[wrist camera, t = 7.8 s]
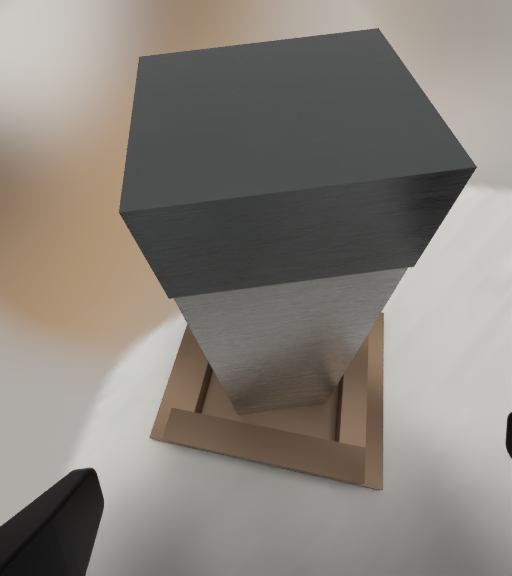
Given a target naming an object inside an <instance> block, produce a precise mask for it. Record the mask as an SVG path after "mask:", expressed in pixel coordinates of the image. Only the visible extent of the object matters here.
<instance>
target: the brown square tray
mask: <svg viewBox="0 0 512 576" xmlns="http://www.w3.org/2000/svg"><path fill="white" fill-rule="evenodd" d="M383 333H384V313H380V315H379V316H378V318H377V320H376V321H375V323H374V325H373V326H372V328H371V330H370V331H369V333H368V334H367V336H366V338H365V339H364V341H363V343H362V344H361V346H360V348H359V349H358V351H357V353H356V354H355V356H354V358H353V359H352V361H351V362H350V364H349V366H348V367H347V369H346V371H345V372H344V374H343V376H342V377H341V379H340V381H339V382H338V384H337V386H336V387H335V389H334V391H333V392H332V394H331V395H330V397H329V399H328V400H327V402H326V403H325V404H318V405H311V406H304V407H296V408H289V409H282V410H274V411H267V412H260V413H253V414H245V415H238V414H237V412H236V410H235V409H234V407H233V405H232V403H231V401H230V400H229V398H228V396H227V394H226V392H225V391H224V389H223V387H222V385H221V383H220V381H219V380H218V378H217V376H216V374H215V372H214V371H213V369H212V367H211V365H210V363H209V362H208V360H207V358H206V356H205V354H204V353H203V351H202V349H201V347H200V345H199V344H198V342H197V340H196V338H195V336H194V334H193V333H192V331H191V329H190V327H189V325H188V324H187V327H186V330H185V333H184V336H183V339H182V342H181V345H180V348H179V351H178V354H177V357H176V360H175V363H174V366H173V369H172V372H171V375H170V378H169V381H168V384H167V387H166V390H165V393H164V396H163V399H162V402H161V405H160V408H159V411H158V414H157V417H156V420H155V423H154V426H153V429H152V432H151V435H150V438H151V439H154V440H159V441H163V442H168V443H172V444H177V445H181V446H186V447H190V448H195V449H199V450H203V451H208V452H212V453H217V454H221V455H226V456H230V457H235V458H239V459H244V460H248V461H253V462H257V463H261V464H266V465H270V466H275V467H279V468H284V469H288V470H293V471H297V472H302V473H306V474H310V475H315V476H319V477H324V478H328V479H333V480H337V481H342V482H346V483H351V484H355V485H359V486H364V487H368V488H373V489H377V490H383Z"/></svg>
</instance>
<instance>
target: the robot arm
mask: <svg viewBox="0 0 512 576" xmlns="http://www.w3.org/2000/svg"><path fill="white" fill-rule="evenodd" d="M506 448H507V451H508V453H509V455H510V457H511V458H512V412H511V413H510V414H509V415H508V418H507V431H506ZM103 508H104V498H103V494H102V491H101V487H100V483H99V480H98V476H97V473H96V471H95V470H94V469H93V468H84V469H77V470H73V471H71V472H70V473H69V474H67V475H66V476H65V477H64V478H62V479H61V480H60V481H58V482H57V483H56V484H55V485H53V486H52V487H51V488H49V489H48V490H47V491H46V492H44V493H43V494H42V495H41V496H39V497H38V498H37V499H35V500H34V501H33V502H32V503H30V504H29V505H28V506H26V507H25V508H24V509H22V510H21V511H20V512H19V513H17V514H16V515H15V516H14V517H12V518H11V519H10V520H8V521H7V522H6V523H4V524H3V525H2V526H1V527H0V576H85V575H86V571H87V568H88V564H89V560H90V557H91V553H92V549H93V546H94V542H95V539H96V535H97V531H98V528H99V524H100V521H101V517H102V513H103Z"/></svg>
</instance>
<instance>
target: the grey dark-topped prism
mask: <svg viewBox="0 0 512 576" xmlns="http://www.w3.org/2000/svg"><path fill="white" fill-rule="evenodd" d="M476 168H477V167H476V166H475V164H474V162H473V161H472V160H471V158H470V157H469V155H468V154H467V153H466V151H465V150H464V148H463V147H462V146H461V144H460V143H459V141H458V140H457V139H456V137H455V136H454V134H453V133H452V131H451V130H450V129H449V127H448V126H447V124H446V123H445V122H444V120H443V119H442V117H441V116H440V114H439V113H438V112H437V110H436V109H435V107H434V106H433V105H432V103H431V102H430V100H429V99H428V98H427V96H426V95H425V93H424V92H423V91H422V89H421V88H420V86H419V85H418V84H417V82H416V81H415V79H414V78H413V77H412V75H411V74H410V72H409V71H408V69H407V68H406V66H405V65H404V64H403V62H402V61H401V60H400V58H399V57H398V55H397V54H396V52H395V51H394V50H393V48H392V47H391V45H390V44H389V42H388V41H387V40H386V38H385V37H384V35H383V34H382V33H381V31H380V30H379V28H378V29H369V30H361V31H352V32H344V33H336V34H327V35H319V36H310V37H302V38H293V39H285V40H277V41H268V42H261V43H252V44H243V45H235V46H228V47H227V46H226V47H218V48H210V49H201V50H194V51H186V52H185V51H184V52H176V53H168V54H159V55H151V56H143V57H139V63H138V71H137V79H136V87H135V94H134V102H133V110H132V117H131V125H130V132H129V140H128V148H127V155H126V163H125V171H124V178H123V186H122V194H121V201H120V209H119V213H120V215H121V216H122V218H123V220H124V222H125V223H126V225H127V227H128V229H129V230H130V232H131V234H132V236H133V237H134V239H135V241H136V242H137V244H138V246H139V248H140V249H141V251H142V253H143V255H144V256H145V258H146V260H147V261H148V263H149V265H150V267H151V268H152V270H153V272H154V274H155V275H156V277H157V279H158V280H159V282H160V284H161V286H162V287H163V289H164V291H165V293H166V294H167V296H168V298H169V299H171V298H174V300H175V302H176V304H177V306H178V307H179V309H180V311H181V313H182V315H183V316H184V318H185V320H186V322H187V324H188V325H189V327H190V329H191V331H192V333H193V334H194V336H195V338H196V340H197V342H198V344H199V345H200V347H201V349H202V351H203V353H204V354H205V356H206V358H207V360H208V362H209V363H210V365H211V367H212V369H213V371H214V372H215V374H216V376H217V378H218V380H219V381H220V383H221V385H222V387H223V389H224V391H225V392H226V394H227V396H228V398H229V400H230V401H231V403H232V405H233V407H234V409H235V410H236V412H237V414H238V415H245V414H253V413H260V412H267V411H274V410H282V409H289V408H296V407H304V406H311V405H318V404H325V403H326V402H327V400H328V399H329V397H330V395H331V394H332V392H333V391H334V389H335V387H336V386H337V384H338V382H339V381H340V379H341V377H342V376H343V374H344V372H345V371H346V369H347V367H348V366H349V364H350V362H351V361H352V359H353V358H354V356H355V354H356V353H357V351H358V349H359V348H360V346H361V344H362V343H363V341H364V339H365V338H366V336H367V334H368V333H369V331H370V330H371V328H372V326H373V325H374V323H375V321H376V320H377V318H378V316H379V315H380V313H381V311H382V310H383V308H384V306H385V305H386V303H387V302H388V300H389V298H390V297H391V295H392V293H393V292H394V290H395V288H396V287H397V285H398V283H399V282H400V280H401V278H402V277H403V275H404V274H405V272H406V270H407V269H408V267H414V266H415V264H416V263H417V261H418V259H419V258H420V256H421V255H422V253H423V252H424V250H425V248H426V247H427V245H428V244H429V242H430V240H431V239H432V237H433V236H434V234H435V233H436V231H437V229H438V228H439V226H440V225H441V223H442V221H443V220H444V218H445V217H446V215H447V214H448V212H449V210H450V209H451V207H452V206H453V204H454V202H455V201H456V199H457V198H458V196H459V194H460V193H461V191H462V190H463V188H464V187H465V185H466V183H467V182H468V180H469V179H470V177H471V175H472V174H473V172H474V171H475V169H476Z"/></svg>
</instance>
